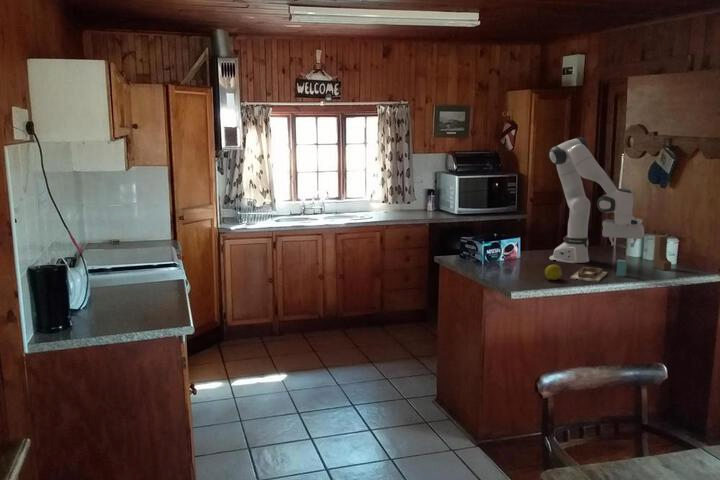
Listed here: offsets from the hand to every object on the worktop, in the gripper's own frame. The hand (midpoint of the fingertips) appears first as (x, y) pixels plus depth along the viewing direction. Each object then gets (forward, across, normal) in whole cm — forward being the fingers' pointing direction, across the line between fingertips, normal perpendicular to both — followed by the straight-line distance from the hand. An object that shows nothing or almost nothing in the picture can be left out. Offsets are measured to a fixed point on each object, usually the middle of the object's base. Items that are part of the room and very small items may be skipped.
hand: (622, 246), depth 329 cm
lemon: (+15, -28, -26) cm, 41 cm away
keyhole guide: (+15, -14, -9) cm, 23 cm away
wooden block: (+16, +15, +26) cm, 35 cm away
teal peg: (+16, 0, 0) cm, 16 cm away
